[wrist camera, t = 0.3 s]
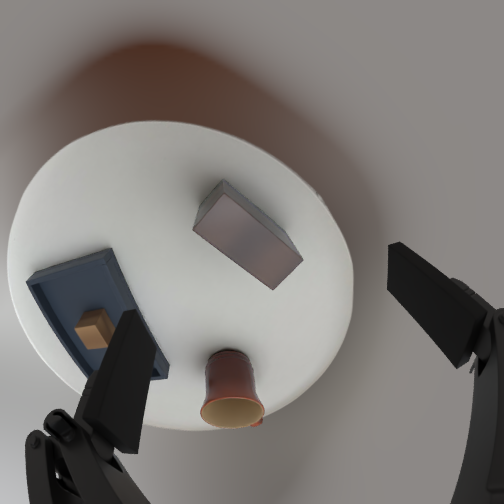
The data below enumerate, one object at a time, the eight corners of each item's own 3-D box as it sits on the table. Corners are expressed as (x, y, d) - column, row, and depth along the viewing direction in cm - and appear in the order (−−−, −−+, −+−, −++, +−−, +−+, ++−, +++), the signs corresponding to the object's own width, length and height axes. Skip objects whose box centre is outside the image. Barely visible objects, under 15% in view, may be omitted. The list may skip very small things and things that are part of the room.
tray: (34, 272, 31) (25, 281, 29) (111, 247, 32) (103, 257, 29) (96, 372, 40) (91, 384, 38) (169, 365, 41) (167, 378, 38)
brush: (198, 207, 31) (192, 230, 24) (223, 178, 30) (224, 192, 23) (261, 257, 35) (273, 290, 27) (285, 231, 33) (304, 259, 26)
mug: (190, 358, 40) (187, 410, 31) (236, 335, 39) (241, 389, 30) (233, 393, 45) (237, 440, 36) (274, 375, 44) (286, 422, 35)
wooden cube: (83, 311, 34) (73, 328, 30) (104, 307, 34) (94, 325, 30) (95, 332, 36) (87, 349, 32) (116, 329, 36) (108, 347, 32)
